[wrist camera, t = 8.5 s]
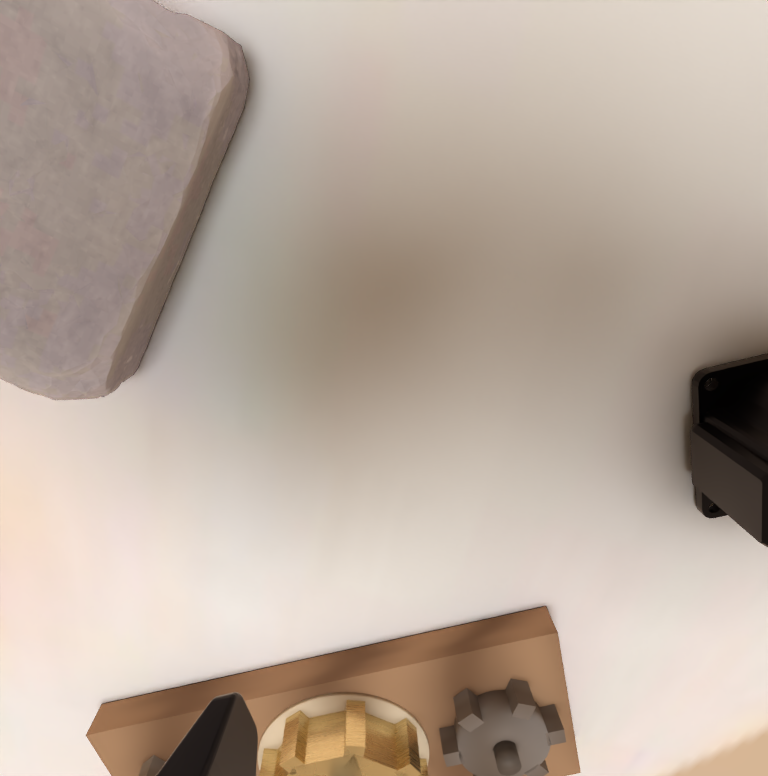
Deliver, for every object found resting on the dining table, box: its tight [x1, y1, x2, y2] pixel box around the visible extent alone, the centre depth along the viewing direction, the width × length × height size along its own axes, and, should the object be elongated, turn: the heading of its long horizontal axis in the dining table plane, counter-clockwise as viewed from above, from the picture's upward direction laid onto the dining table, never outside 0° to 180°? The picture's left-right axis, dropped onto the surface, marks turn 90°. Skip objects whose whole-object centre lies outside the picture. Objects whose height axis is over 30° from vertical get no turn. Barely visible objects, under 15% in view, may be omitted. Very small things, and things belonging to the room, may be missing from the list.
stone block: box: [0, 0, 249, 400], centre depth 16 cm, size 12×5×10 cm
